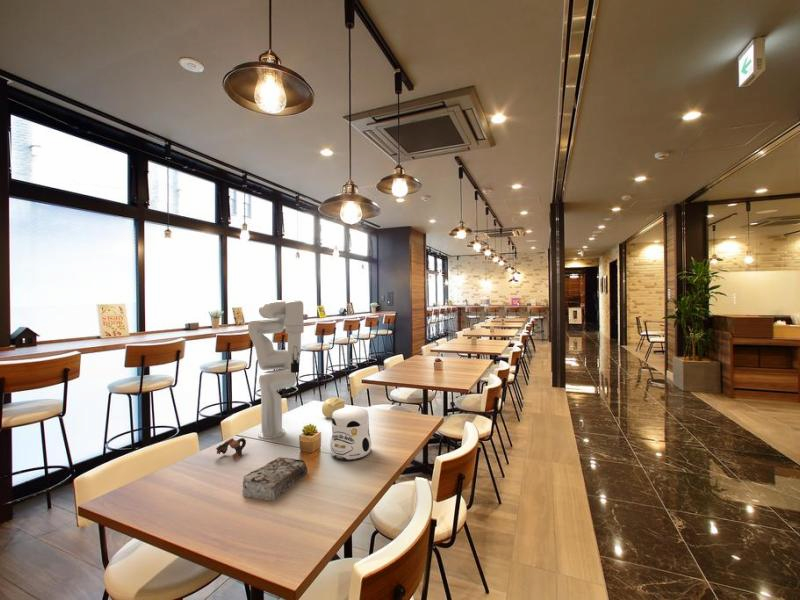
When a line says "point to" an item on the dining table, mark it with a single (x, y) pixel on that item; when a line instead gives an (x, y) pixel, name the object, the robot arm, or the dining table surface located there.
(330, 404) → the sculpture
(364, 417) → the milk container
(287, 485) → the stone block
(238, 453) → the brown animal figurine
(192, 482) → the dining table surface
